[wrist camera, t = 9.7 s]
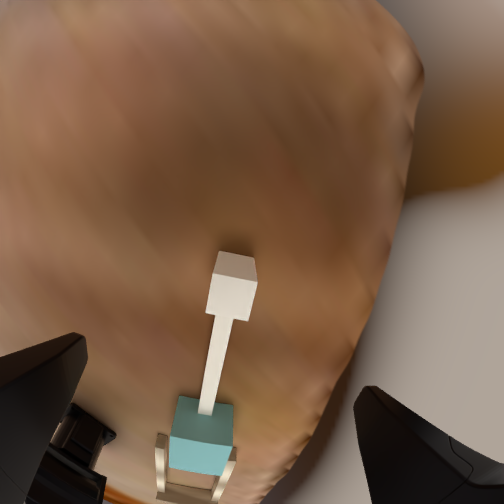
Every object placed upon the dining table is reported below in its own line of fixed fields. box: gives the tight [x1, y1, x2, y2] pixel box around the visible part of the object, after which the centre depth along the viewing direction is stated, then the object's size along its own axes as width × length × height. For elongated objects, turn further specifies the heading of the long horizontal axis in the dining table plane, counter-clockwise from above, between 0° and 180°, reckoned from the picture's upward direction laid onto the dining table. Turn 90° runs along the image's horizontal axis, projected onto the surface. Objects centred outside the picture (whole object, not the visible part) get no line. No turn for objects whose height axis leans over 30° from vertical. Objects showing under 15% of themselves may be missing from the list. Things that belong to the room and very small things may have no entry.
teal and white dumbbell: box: [169, 251, 258, 476], centre depth 19 cm, size 20×5×5 cm, turn 167°
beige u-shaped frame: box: [155, 434, 236, 504], centre depth 24 cm, size 15×9×4 cm, turn 167°
